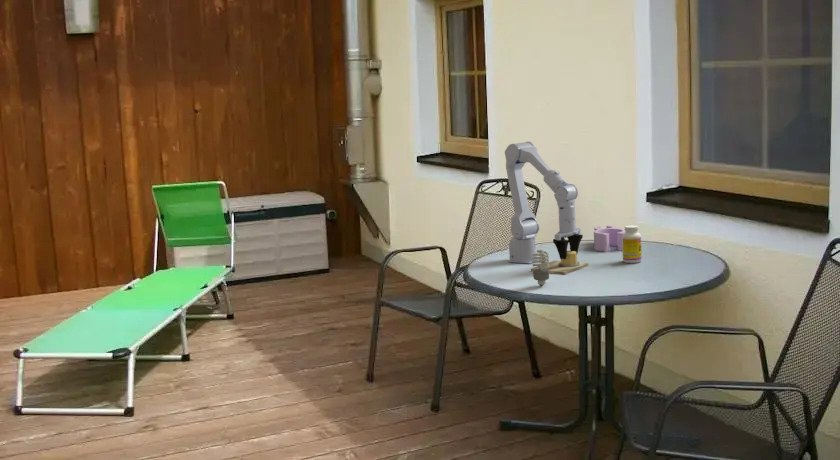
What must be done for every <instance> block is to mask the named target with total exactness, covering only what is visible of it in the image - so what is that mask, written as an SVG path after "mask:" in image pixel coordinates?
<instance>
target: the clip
mask: <svg viewBox="0 0 840 460" xmlns="http://www.w3.org/2000/svg"><path fill="white" fill-rule="evenodd" d="M624 233H625V228H618V227H616V226H614V225H606V228H601V226H599V225H597V226H595V227H594V230H593V247H594V250H596V251H597V252H598V251H600V252H604V253H609V252H610V247H612V246H613V247H617V251H619V252H620V251H621V252H623V248H622V235H623V234H624Z"/></svg>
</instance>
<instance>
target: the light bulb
mask: <svg viewBox="0 0 840 460" xmlns="http://www.w3.org/2000/svg"><path fill="white" fill-rule="evenodd" d="M532 256H536V257H532V259H533V261H532V263H531V264H532V266H533V267H539V269H535V270H533V271H532V277H533V279H534V280H535V281H537V284H538V285H539V286H541V287H543V286H544V285H546V281H547V280H549V279H550V273H549V270H548V269H545V268H546V267H548V266H549V262H550V256H549V252H547V251H545V250H542V249H536V253H535V254H532ZM535 259H541V260H535ZM545 264H547V265H545ZM542 265H545V266H543V267H541V266H542Z"/></svg>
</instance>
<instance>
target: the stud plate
mask: <svg viewBox="0 0 840 460" xmlns="http://www.w3.org/2000/svg"><path fill="white" fill-rule="evenodd" d="M545 265H547V264H545ZM545 265H542V266H541V267H543V266H545ZM588 266H589V263H587V262H579V261H577V264H573V265H563V264H561V260H552V261H549V266H548V267H546V268H545V269H548V270H549V274H556V275H568V274H570V273H573V272H575V271H578V270H581V269H583V268H586V267H588ZM535 269H539V267H538V266H534V267H533V268H530V272H533V270H535Z"/></svg>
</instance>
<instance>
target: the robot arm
mask: <svg viewBox="0 0 840 460" xmlns="http://www.w3.org/2000/svg"><path fill="white" fill-rule="evenodd" d="M504 156H505V160H506V161H505V169H506V175H507V180H508V185H509V189H510V194H511V199H512V205H513V211H514V214H513V216H512V217H511V218H510V225H511V226H510V233H511V234H512V236H513V237H511V238H510V239H509V242H508V244H509V245H508V250H509V251H508V253H509V260H508V262H509V263H516V264H517V263H519V264H520V263H521V264H528V265H529V264H530V265H531V264H533V263H532V261H533V259H532V257H537V256H532V254H535V253H537V248H536V237H537V234H539V230H540V225H539V221H538V220H537V218H536V214H535V213H533V212H532V211H531V209H530V204H529V200H528V196H527V190H526V186H525V181H524V175H523V167H524V166H525V164H526V163H529V164H530V165H531V166H533V167H534V168H535V170H537V171H538V173H540V174H541V175H542V177H543V182H544V183H545V184H546V185H547V186H548V187H549V189H550V190H551V191H552V192H553V193H554V194H553V196H554V199H555V201H556V203H557V208H558V225H559V229H558V230H559V231H558V232H557V233H555V234H554V238H553V239H552V243H553V244H554V247H555V248H556V250H557V253H558V255H559V259H560V260H561V259H566V257H567V251H568V246H569V249H570V250H569V251H576V253H577V254H579V253H578V252H579V247H580V244H581V241H582V239H583V236H584V235H583V234H582V233H581V232H582V231H581V230H582V229H581V227H576V203H575V200H576V199H577V198H578V196H579V195H578V194H579V192H578V189H577V187H576V185H575V184H573V183H569V182H568V181H567V180H565V179H564V177H563V176H562V175H561V174H560V172H559V171H558V170H556V169H551V168H550V167H549V165H548V164H547V163H546V162H545V160H544V159H543V158H542V156H541V155H540V153H538V148H537V146H535V144H533V142H531V141H525V142H518V143H510V144H509V145H508V146H507V147H506V149H504ZM566 238H567V239H566ZM535 260H542V259H535Z"/></svg>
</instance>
